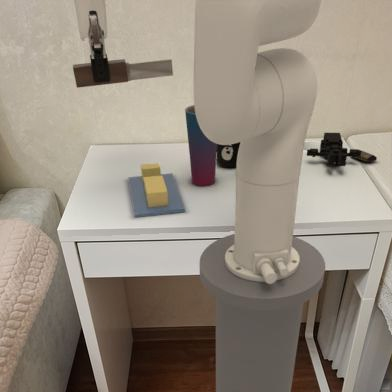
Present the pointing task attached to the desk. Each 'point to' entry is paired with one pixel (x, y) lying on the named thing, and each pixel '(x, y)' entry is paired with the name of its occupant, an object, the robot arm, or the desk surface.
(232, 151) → the beverage can
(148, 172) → the butter pat
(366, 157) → the block
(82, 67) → the knife
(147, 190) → the butter bar
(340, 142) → the toy
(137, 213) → the butter plate
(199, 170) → the cup
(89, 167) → the desk surface
